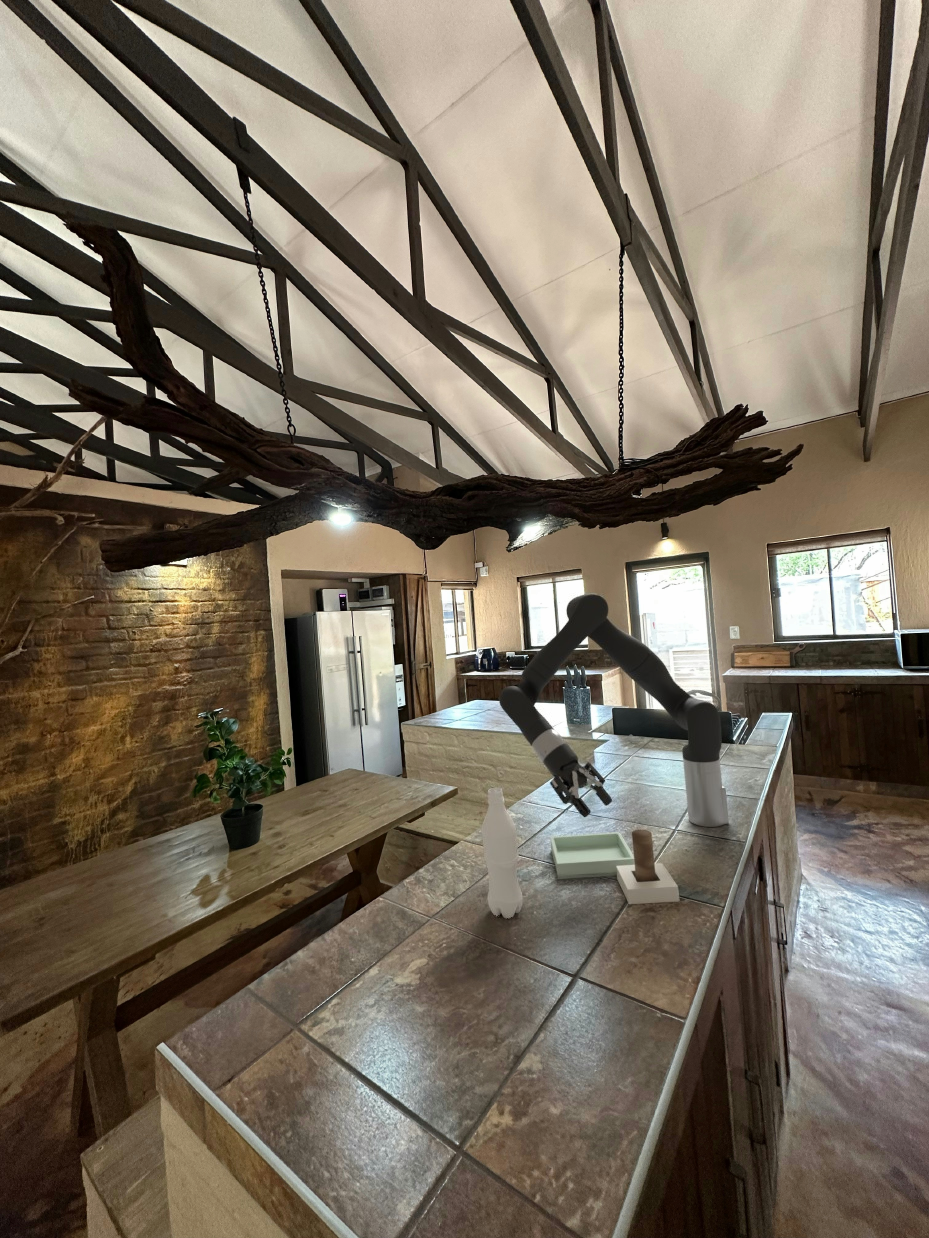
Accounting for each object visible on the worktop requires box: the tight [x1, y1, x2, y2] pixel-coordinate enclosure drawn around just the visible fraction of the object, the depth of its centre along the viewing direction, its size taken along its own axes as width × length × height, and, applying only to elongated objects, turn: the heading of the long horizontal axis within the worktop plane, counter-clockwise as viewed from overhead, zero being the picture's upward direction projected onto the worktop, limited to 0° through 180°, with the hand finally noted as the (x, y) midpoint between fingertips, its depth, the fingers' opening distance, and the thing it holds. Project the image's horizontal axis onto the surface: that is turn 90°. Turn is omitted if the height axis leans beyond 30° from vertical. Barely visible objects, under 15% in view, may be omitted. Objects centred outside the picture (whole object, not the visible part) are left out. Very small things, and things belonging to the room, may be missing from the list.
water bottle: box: [481, 787, 524, 919], centre depth 105 cm, size 7×7×25 cm
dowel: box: [631, 829, 656, 882], centre depth 108 cm, size 4×4×12 cm
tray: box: [549, 831, 635, 880], centre depth 123 cm, size 18×15×4 cm
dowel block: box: [616, 862, 680, 905], centre depth 108 cm, size 10×10×3 cm
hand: (599, 809), depth 116 cm, fingers open, 8 cm apart
